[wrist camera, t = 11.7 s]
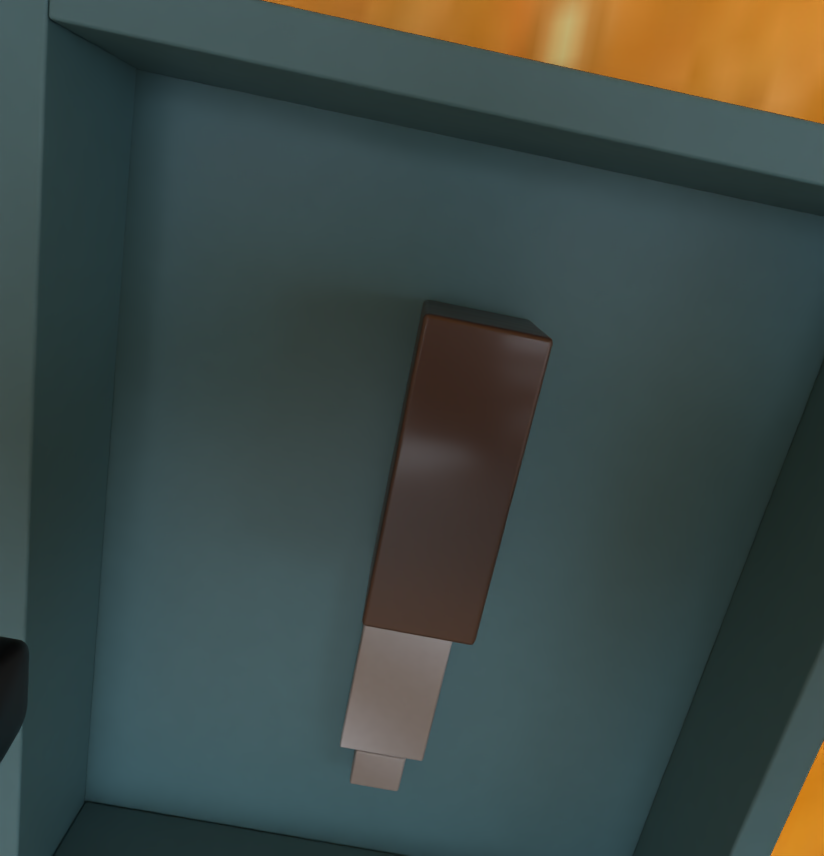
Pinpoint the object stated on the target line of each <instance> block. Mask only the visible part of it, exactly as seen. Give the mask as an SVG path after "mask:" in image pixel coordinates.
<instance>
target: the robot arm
mask: <svg viewBox="0 0 824 856" xmlns="http://www.w3.org/2000/svg"><path fill="white" fill-rule="evenodd" d="M28 682H29V649H28V646H27V644H26V643H25V642H23V641H22V640H18V639H13V638H7V637H1V636H0V763H1V762H2V760H3V758H4V756H5V755H6V753H7V751H8V750H9V748H10V746H11V745H12V743H13V741H14V739H15V738H16V736H17V734H18V732H19V731H20V729H21V726H22V724H23V722H24V719H25V716H26V712H27V705H28Z"/></svg>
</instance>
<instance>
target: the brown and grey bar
mask: <svg viewBox="0 0 824 856" xmlns="http://www.w3.org/2000/svg"><path fill="white" fill-rule="evenodd" d="M552 345H553V342H552V339H551V338H550V337H549V336H548V335H546V334H545V333H544V332H543V331H542V330H540V329H539V328H538V327H537V326H536V325H535V324H533V323H532V322H531V321H529V320H527V319H522V318H517V317H512V316H507V315H502V314H497V313H492V312H487V311H482V310H477V309H472V308H467V307H462V306H457V305H452V304H447V303H442V302H437V301H433V300H425V301H424V303H423V306H422V311H421V316H420V321H419V326H418V331H417V336H416V341H415V346H414V351H413V356H412V361H411V366H410V371H409V376H408V381H407V386H406V392H405V397H404V402H403V407H402V412H401V417H400V422H399V427H398V432H397V437H396V442H395V447H394V452H393V457H392V462H391V467H390V472H389V477H388V482H387V487H386V492H385V497H384V502H383V507H382V512H381V517H380V522H379V527H378V532H377V537H376V542H375V547H374V552H373V557H372V562H371V567H370V574H369V580H368V586H367V592H366V598H365V604H364V610H363V617H362V622H363V629H362V634H361V639H360V644H359V649H358V654H357V659H356V664H355V669H354V674H353V679H352V683H351V688H350V693H349V698H348V703H347V708H346V713H345V718H344V723H343V728H342V734H341V740H340V747H344V748H349V749H355V751H354V756H353V761H352V766H351V773H350V783H351V784H357V785H362V786H368V787H374V788H380V789H385V790H391V791H398V789H399V786H400V782H401V777H402V773H403V769H404V765H405V761H406V759H412V760H418V761H422V760H423V758H424V754H425V750H426V746H427V742H428V738H429V734H430V730H431V726H432V722H433V718H434V714H435V710H436V706H437V702H438V698H439V694H440V690H441V686H442V682H443V678H444V674H445V670H446V666H447V662H448V657H449V653H450V649H451V645H452V642H456V643H462V644H467V645H473V644H474V642H475V640H476V637H477V633H478V629H479V625H480V621H481V617H482V613H483V610H484V606H485V602H486V598H487V594H488V590H489V587H490V583H491V579H492V575H493V571H494V567H495V564H496V560H497V556H498V552H499V548H500V544H501V540H502V537H503V533H504V529H505V525H506V521H507V517H508V514H509V510H510V506H511V502H512V498H513V494H514V491H515V487H516V483H517V479H518V475H519V471H520V467H521V464H522V460H523V456H524V452H525V448H526V444H527V441H528V437H529V433H530V429H531V425H532V421H533V418H534V414H535V410H536V406H537V402H538V398H539V394H540V391H541V387H542V383H543V379H544V375H545V371H546V368H547V364H548V360H549V356H550V352H551V348H552Z"/></svg>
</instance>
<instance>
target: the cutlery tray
mask: <svg viewBox="0 0 824 856" xmlns="http://www.w3.org/2000/svg"><path fill="white" fill-rule="evenodd" d="M425 300H433V301H437V302H442V303H447V304H452V305H457V306H462V307H467V308H472V309H477V310H482V311H487V312H492V313H497V314H502V315H507V316H512V317H517V318H522V319H527V320H529V321H531V322H532V323H533V324H535V325H536V326H537V327H538V328H539V329H540V330H542V331H543V332H544V333H545V334H546V335H548V336H549V337H550V338H551V339H552V342H553V345H552V348H551V352H550V356H549V360H548V364H547V368H546V371H545V375H544V379H543V383H542V387H541V391H540V394H539V398H538V402H537V406H536V410H535V414H534V418H533V421H532V425H531V429H530V433H529V437H528V441H527V444H526V448H525V452H524V456H523V460H522V464H521V467H520V471H519V475H518V479H517V483H516V487H515V491H514V494H513V498H512V502H511V506H510V510H509V514H508V517H507V521H506V525H505V529H504V533H503V537H502V540H501V544H500V548H499V552H498V556H497V560H496V564H495V567H494V571H493V575H492V579H491V583H490V587H489V590H488V594H487V598H486V602H485V606H484V610H483V613H482V617H481V621H480V625H479V629H478V633H477V637H476V640H475V642H474V644H473V645H467V644H462V643H456V642H452V645H451V649H450V653H449V657H448V662H447V666H446V670H445V674H444V678H443V682H442V686H441V690H440V694H439V698H438V702H437V706H436V710H435V714H434V718H433V722H432V726H431V730H430V734H429V738H428V742H427V746H426V750H425V754H424V758H423V760H422V761H418V760H412V759H406V761H405V765H404V769H403V773H402V777H401V782H400V786H399V789H398V791H391V790H385V789H380V788H374V787H368V786H362V785H357V784H351V783H350V773H351V766H352V761H353V756H354V751H355V749H349V748H344V747H340V740H341V734H342V728H343V723H344V718H345V713H346V708H347V703H348V698H349V693H350V688H351V683H352V679H353V674H354V669H355V664H356V659H357V654H358V649H359V644H360V639H361V634H362V629H363V622H362V617H363V610H364V604H365V598H366V592H367V586H368V580H369V574H370V567H371V562H372V557H373V552H374V547H375V542H376V537H377V532H378V527H379V522H380V517H381V512H382V507H383V502H384V497H385V492H386V487H387V482H388V477H389V472H390V467H391V462H392V457H393V452H394V447H395V442H396V437H397V432H398V427H399V422H400V417H401V412H402V407H403V402H404V397H405V392H406V386H407V381H408V376H409V371H410V366H411V361H412V356H413V351H414V346H415V341H416V336H417V331H418V326H419V321H420V316H421V311H422V306H423V303H424V301H425ZM0 636H1V637H7V638H13V639H18V640H22V641H23V642H25V643H26V644H27V646H28V649H29V682H28V705H27V712H26V716H25V719H24V722H23V724H22V726H21V729H20V731H19V732H18V734H17V736H16V738H15V739H14V741H13V743H12V745H11V746H10V748H9V750H8V751H7V753H6V755H5V756H4V758H3V760H2V762H1V763H0V856H770V855H771V853H772V851H773V849H774V846H775V844H776V842H777V840H778V838H779V836H780V833H781V831H782V829H783V827H784V825H785V823H786V820H787V818H788V816H789V814H790V812H791V810H792V808H793V805H794V803H795V801H796V799H797V797H798V795H799V792H800V790H801V788H802V786H803V784H804V782H805V779H806V777H807V775H808V773H809V771H810V769H811V766H812V764H813V762H814V760H815V758H816V756H817V754H818V751H819V749H820V747H821V745H822V743H823V741H824V124H821V123H817V122H812V121H808V120H803V119H799V118H794V117H790V116H785V115H780V114H776V113H771V112H767V111H762V110H758V109H753V108H749V107H744V106H740V105H735V104H730V103H726V102H721V101H717V100H712V99H708V98H703V97H699V96H694V95H689V94H685V93H680V92H676V91H671V90H667V89H662V88H658V87H653V86H649V85H644V84H639V83H635V82H630V81H626V80H621V79H617V78H612V77H608V76H603V75H599V74H594V73H589V72H585V71H580V70H576V69H571V68H567V67H562V66H558V65H553V64H549V63H544V62H539V61H535V60H530V59H526V58H521V57H517V56H512V55H508V54H503V53H499V52H494V51H489V50H485V49H480V48H476V47H471V46H467V45H462V44H458V43H453V42H449V41H444V40H439V39H435V38H430V37H426V36H421V35H417V34H412V33H408V32H403V31H399V30H394V29H389V28H385V27H380V26H376V25H371V24H367V23H362V22H358V21H353V20H349V19H344V18H339V17H335V16H330V15H326V14H321V13H317V12H312V11H308V10H303V9H299V8H294V7H289V6H285V5H280V4H276V3H271V2H267V1H262V0H0Z"/></svg>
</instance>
